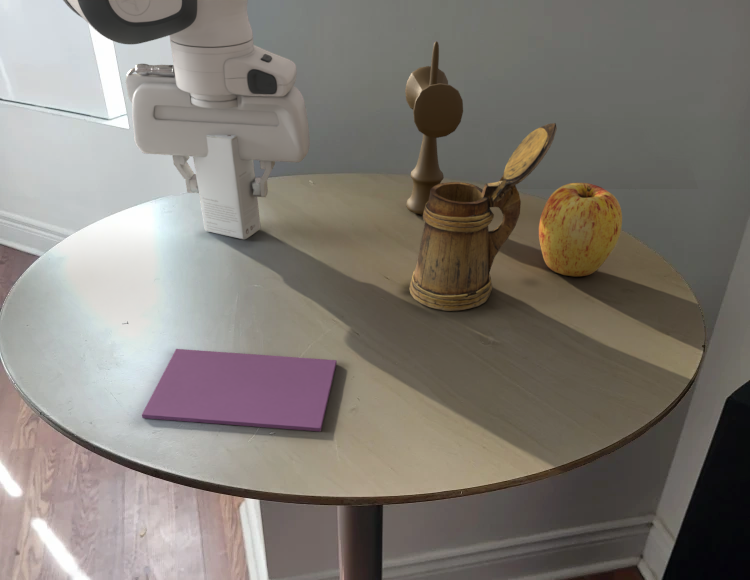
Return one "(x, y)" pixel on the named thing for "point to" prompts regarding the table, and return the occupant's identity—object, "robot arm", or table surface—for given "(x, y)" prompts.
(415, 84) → the kendama
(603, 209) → the apple
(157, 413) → the purple rectangular board
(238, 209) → the cosmetic box
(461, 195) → the wooden mug
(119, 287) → the table surface
